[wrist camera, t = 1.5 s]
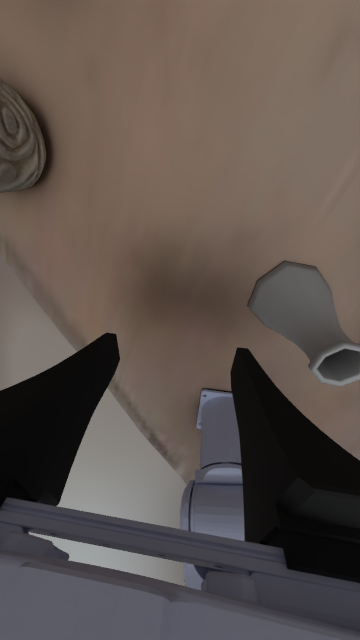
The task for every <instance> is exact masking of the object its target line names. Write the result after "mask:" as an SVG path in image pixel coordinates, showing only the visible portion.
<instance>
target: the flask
mask: <svg viewBox="0 0 360 640" xmlns="http://www.w3.org/2000/svg"><path fill="white" fill-rule="evenodd" d="M248 307H249V308H250V309H251V311H252V312H253V313H254V314H255V315H256V316H257V318H258V319H259V320H260V321H261V322H262V323H263V324H264V325H265V326H267V327H269V328H270V329H272V330H274V331H276V332H277V333H279V334H281V335H282V336H284V337H285V338H287V339H288V340H290V341H292V342H293V343H295V344H296V345H297V346H298V347H299V348H301V349H302V350H303V351H304V352H305V353H306V355H307V356H308V358H309V359H310V363H309V364H308V366H309V369H310V370H311V371H312V373H313V374H314V375H315V376H316V377H317V379H318V380H319V381H320V382H322V383H326V384H331V385H336V386H343V385H346V384H349V383H351V382H354V381H357V380H359V379H360V344H358V343H354V342H352V341H351V340H350V339H349V338H348V337H347V336H346V335H345V334H344V332H343V330H342V329H341V327H340V325H339V321H338V318H337V314H336V311H335V307H334V302H333V296H332V292H331V289H330V287H329V286H328V284H327V283H326V281H325V280H324V278H323V277H322V275H321V273H320V272H319V270H318V269H317V267H313V266H308V265H303V264H298V263H293V262H288V261H285V262H283V263H282V264H280V265H279V266H278V267H276V268H275V269H273V270H272V271H271V272H269V273H268V274H266V275H265V276H264V277H262V278H261V279H259V280H258V281H257V284H256V286H255V289H254V291H253V294H252V297H251V299H250V302H249V304H248Z"/></svg>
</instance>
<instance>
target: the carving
mask: <svg viewBox="0 0 360 640" xmlns="http://www.w3.org/2000/svg"><path fill="white" fill-rule="evenodd" d="M45 161H46V149H45V144H44V139H43V136H42V133H41V130H40V127H39V125H38V122H37V120H36V118H35V116H34V114H33V113H32V111H31V110H30V109H29V107H28V106H27V105H26V103H25V102H24V101H23V100H22V98H21V97H20V96H19V95H18V94H17V93H16V92H15V91H14V90H13V89H12V88H11V87H10V86H9V85H8V84H6V83H5V82H4V81H3V80H2V79H0V193H4V192H12V191H18V190H23V189H25V188H29V187H31V186H32V185H34V184H35V183H36V181H37V180H38V179H39V177H40V176H41V173H42V171H43V168H44V165H45Z"/></svg>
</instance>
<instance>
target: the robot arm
mask: <svg viewBox="0 0 360 640" xmlns="http://www.w3.org/2000/svg"><path fill="white" fill-rule="evenodd" d="M119 361H120V356H119V349H118V343H117V337H116V334H112V333H105V334H104V335H102V336H101V337H99V338H98V339H96V340H95V341H93V342H92V343H90V344H89V345H87V346H86V347H84V348H83V349H81V350H80V351H78V352H77V353H75V354H73V355H72V356H70V357H69V358H67V359H65V360H64V361H62V362H60V363H59V364H57V365H55V366H53V367H52V368H50V369H48V370H46V371H44V372H42V373H40V374H38V375H36V376H34V377H31V378H29V379H27V380H25V381H22V382H20V383H18V384H16V385H13V386H11V387H9V388H6V389H4V390H1V391H0V640H360V461H359V460H358V459H357V458H355V457H354V456H353V455H351V454H350V453H348V452H347V451H346V450H345V449H343V448H342V447H341V446H339V445H338V444H337V443H336V442H334V441H333V440H332V439H331V438H329V437H328V436H327V435H326V434H325V433H323V432H322V431H321V430H320V429H319V428H318V427H316V426H315V425H314V424H313V423H312V422H311V421H310V420H309V419H307V418H306V417H305V416H304V415H303V414H302V413H301V412H300V411H299V410H298V409H297V408H296V407H295V406H294V405H293V404H292V403H291V402H290V401H289V400H288V399H287V398H286V397H285V396H284V395H283V394H282V392H281V391H280V390H279V389H278V388H277V387H276V385H275V384H274V383H273V382H272V381H271V379H270V378H269V377H268V375H267V374H266V373H265V372H264V370H263V369H262V368H261V366H260V365H259V363H258V362H257V361H256V359H255V358H254V356H253V355H252V353H251V352H250V351H249V349H246V348H238V347H237V350H236V354H235V358H234V361H233V365H232V369H231V389H232V393H229V392H222V391H214V390H207V389H204V390H202V392H201V398H200V405H199V411H198V417H197V424H196V428H198V429H201V447H200V470H195V480H190V481H189V483H188V485H187V486H186V488H185V490H184V492H183V496H182V502H181V510H180V529H176V528H171V527H165V526H159V525H154V524H149V523H143V522H138V521H133V520H127V519H122V518H117V517H111V516H106V515H100V514H94V513H90V512H84V511H78V510H73V509H68V508H63V507H57V505H58V504H59V502H60V499H61V496H62V493H63V490H64V487H65V484H66V481H67V478H68V475H69V473H70V469H71V467H72V464H73V462H74V459H75V456H76V454H77V451H78V448H79V446H80V443H81V441H82V438H83V436H84V433H85V431H86V429H87V426H88V424H89V422H90V419H91V417H92V415H93V413H94V411H95V409H96V407H97V405H98V403H99V401H100V399H101V398H102V396H103V394H104V392H105V390H106V388H107V387H108V385H109V383H110V381H111V379H112V377H113V376H114V374H115V371H116V369H117V366H118V363H119ZM28 532H32V533H37V534H42V535H47V536H52V537H57V538H62V539H67V540H73V541H77V542H83V543H88V544H93V545H98V546H103V547H108V548H113V549H118V550H123V551H128V552H133V553H138V554H143V555H149V556H153V557H159V558H163V559H168V560H173V561H179V562H184V581H185V586H181V585H178V584H174V583H169V582H166V581H162V580H158V579H154V578H150V577H145V576H141V575H137V574H132V573H128V572H123V571H118V570H114V569H109V568H104V567H100V566H94V565H90V564H84V563H79V562H73V561H68V559H69V554H68V553H66V552H64V551H62V550H60V549H58V548H57V547H55V546H54V545H53V543H52V542H51V541H49V540H45V539H43V538H39V537H36V536H33V535H29V533H28Z"/></svg>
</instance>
